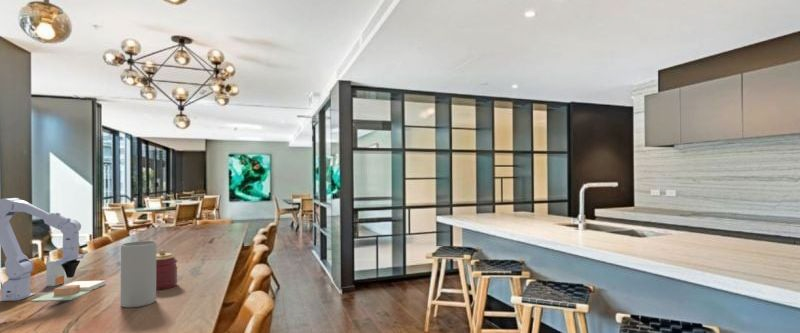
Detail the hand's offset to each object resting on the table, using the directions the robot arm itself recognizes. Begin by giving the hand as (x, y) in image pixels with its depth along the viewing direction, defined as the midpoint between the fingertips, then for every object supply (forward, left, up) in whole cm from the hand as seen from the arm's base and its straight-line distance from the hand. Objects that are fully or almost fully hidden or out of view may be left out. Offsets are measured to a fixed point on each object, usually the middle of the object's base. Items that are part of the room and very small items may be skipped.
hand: (70, 277), depth 185 cm
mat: (-5, 0, -7) cm, 9 cm away
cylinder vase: (-19, -40, -7) cm, 45 cm away
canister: (+7, -37, -7) cm, 38 cm away
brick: (-2, 0, -7) cm, 7 cm away
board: (+8, 0, -7) cm, 10 cm away
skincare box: (+17, +18, -7) cm, 25 cm away
